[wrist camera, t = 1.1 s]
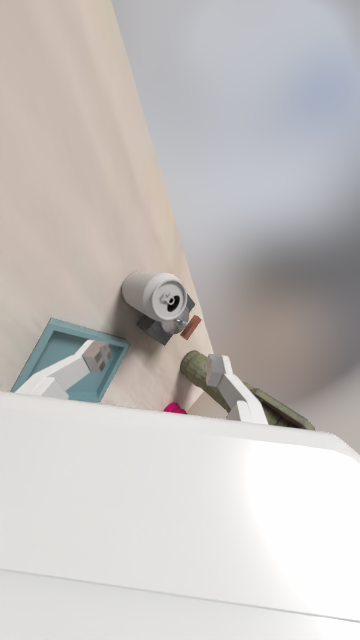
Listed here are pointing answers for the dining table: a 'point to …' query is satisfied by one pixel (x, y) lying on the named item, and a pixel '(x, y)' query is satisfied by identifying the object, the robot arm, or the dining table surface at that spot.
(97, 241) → the dining table surface
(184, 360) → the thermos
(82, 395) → the tray
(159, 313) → the can
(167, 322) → the crank housing
